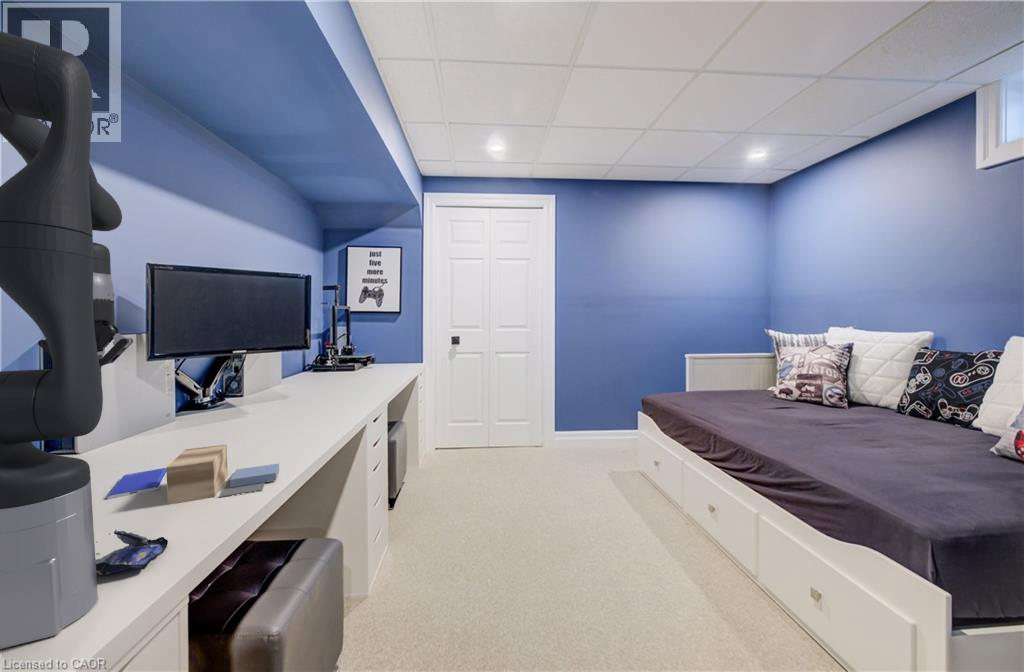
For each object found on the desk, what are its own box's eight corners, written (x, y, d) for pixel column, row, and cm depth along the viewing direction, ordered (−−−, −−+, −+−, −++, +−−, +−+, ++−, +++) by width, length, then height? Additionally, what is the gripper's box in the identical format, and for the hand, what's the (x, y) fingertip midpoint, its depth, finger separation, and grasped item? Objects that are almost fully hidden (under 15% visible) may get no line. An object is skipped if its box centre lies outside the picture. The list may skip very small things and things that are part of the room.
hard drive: (123, 474, 93) (107, 495, 83) (167, 467, 98) (157, 485, 88) (123, 481, 93) (107, 502, 83) (168, 473, 98) (158, 492, 88)
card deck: (230, 479, 88) (230, 488, 88) (275, 472, 92) (276, 481, 92) (236, 469, 94) (236, 477, 94) (279, 463, 97) (279, 471, 98)
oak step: (214, 496, 84) (213, 461, 84) (168, 504, 81) (166, 467, 80) (227, 476, 95) (226, 444, 95) (187, 481, 92) (185, 449, 91)
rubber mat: (262, 490, 87) (262, 489, 87) (219, 497, 84) (219, 496, 84) (270, 468, 100) (270, 467, 100) (233, 473, 97) (233, 472, 97)
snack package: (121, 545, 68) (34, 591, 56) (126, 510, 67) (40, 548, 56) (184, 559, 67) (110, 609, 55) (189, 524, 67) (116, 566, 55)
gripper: (20, 295, 67) (26, 393, 67) (121, 297, 72) (125, 387, 73) (50, 297, 74) (55, 386, 74) (140, 299, 79) (144, 382, 80)
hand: (90, 387), depth 74 cm, fingers closed
